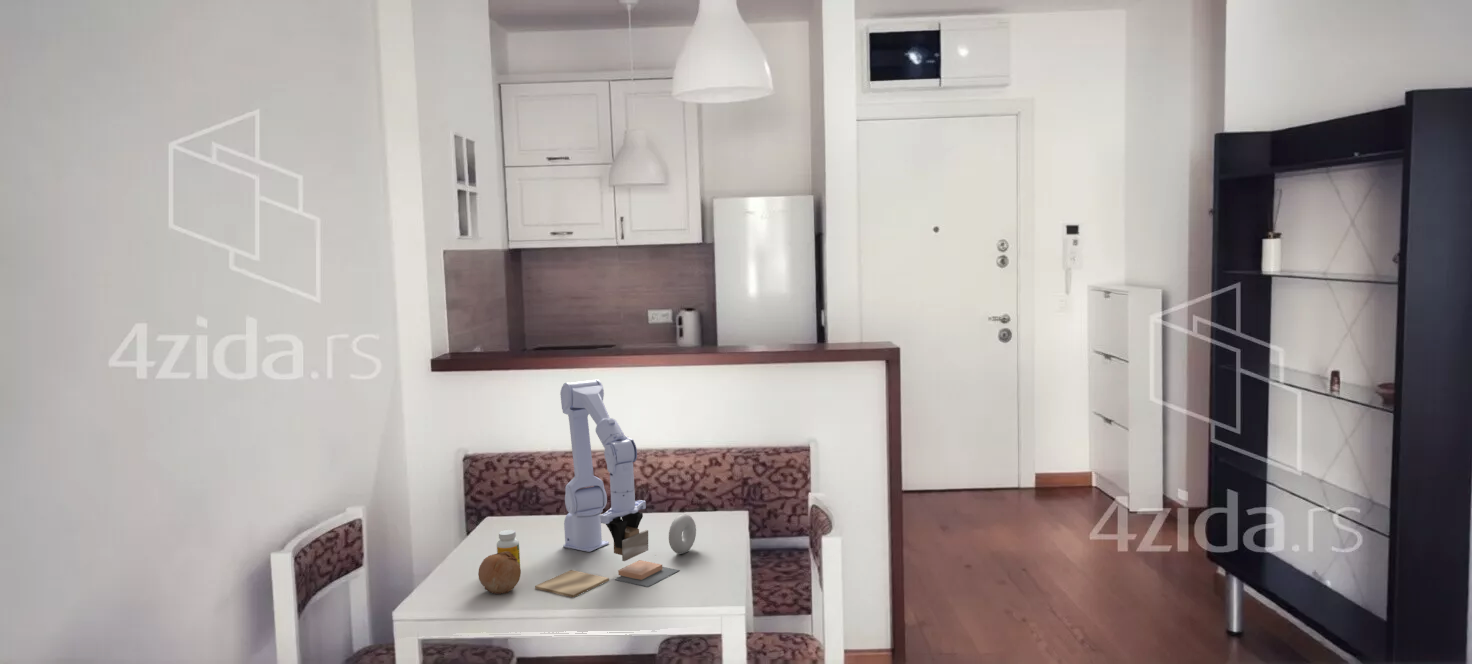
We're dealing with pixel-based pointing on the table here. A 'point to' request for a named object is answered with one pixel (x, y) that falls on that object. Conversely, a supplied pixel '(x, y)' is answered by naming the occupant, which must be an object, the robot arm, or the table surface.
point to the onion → (499, 572)
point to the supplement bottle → (508, 543)
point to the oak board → (571, 583)
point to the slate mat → (650, 577)
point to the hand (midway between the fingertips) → (625, 545)
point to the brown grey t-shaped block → (632, 543)
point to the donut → (675, 533)
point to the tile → (640, 570)
